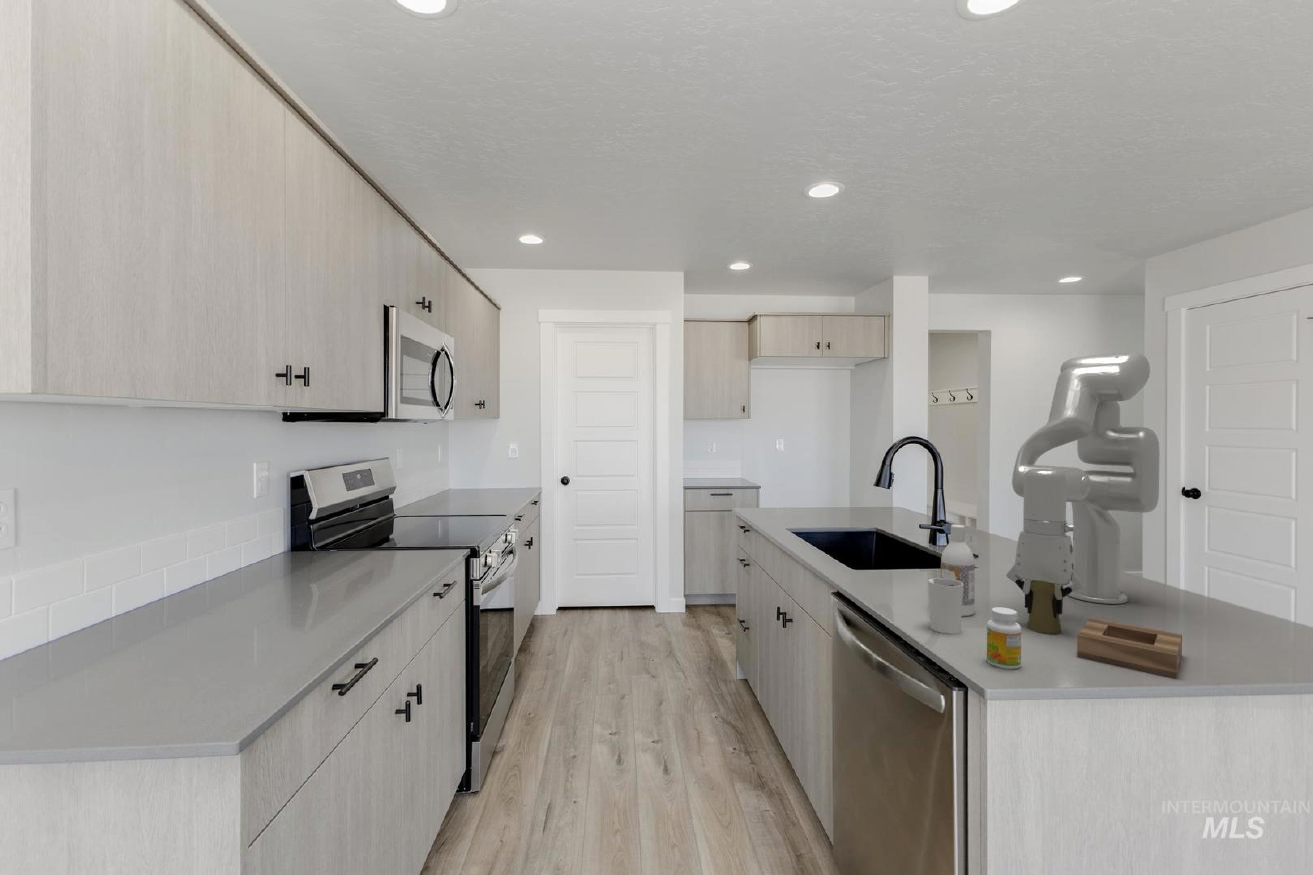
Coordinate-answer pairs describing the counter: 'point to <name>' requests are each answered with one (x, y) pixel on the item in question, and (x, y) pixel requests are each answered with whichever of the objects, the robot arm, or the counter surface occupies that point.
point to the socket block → (1131, 647)
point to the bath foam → (960, 566)
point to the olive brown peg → (1043, 609)
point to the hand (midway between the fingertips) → (1043, 613)
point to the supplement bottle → (1004, 639)
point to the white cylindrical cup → (945, 605)
